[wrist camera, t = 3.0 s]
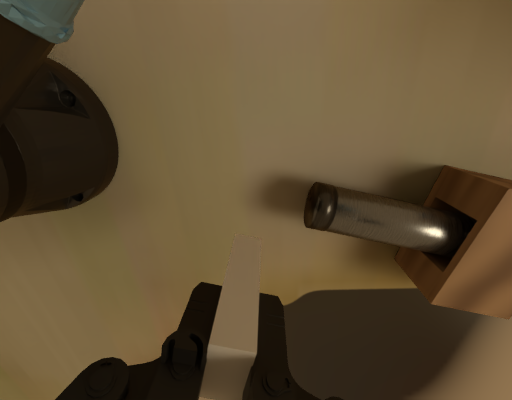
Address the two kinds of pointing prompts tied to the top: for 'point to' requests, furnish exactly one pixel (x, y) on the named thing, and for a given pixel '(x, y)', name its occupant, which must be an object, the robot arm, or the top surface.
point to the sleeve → (469, 246)
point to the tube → (385, 220)
